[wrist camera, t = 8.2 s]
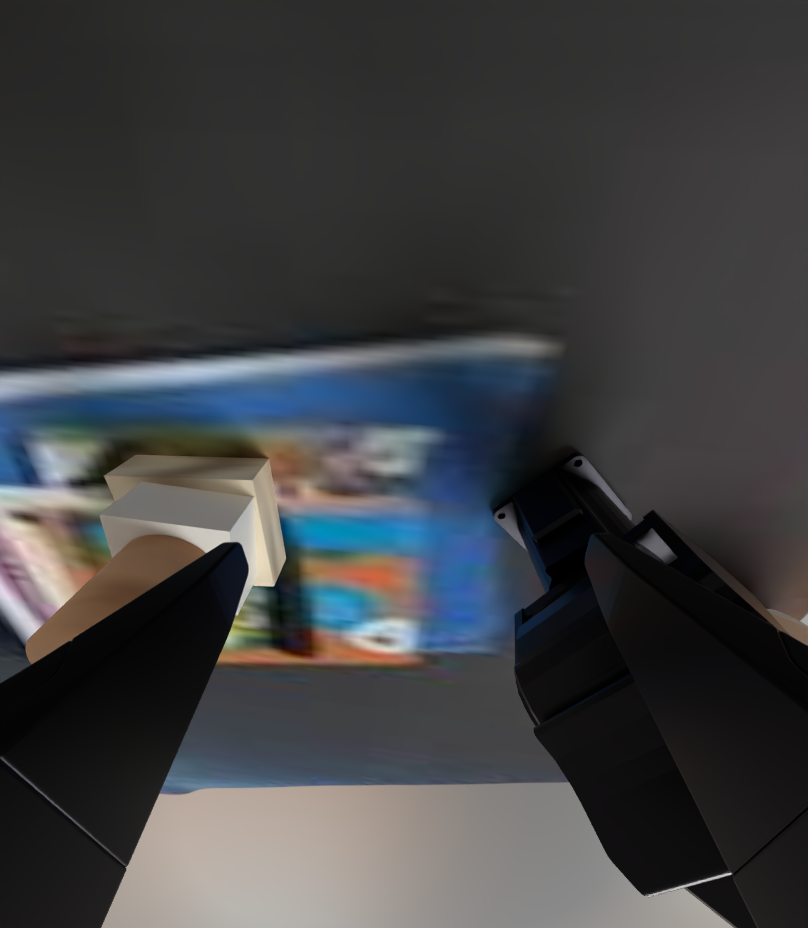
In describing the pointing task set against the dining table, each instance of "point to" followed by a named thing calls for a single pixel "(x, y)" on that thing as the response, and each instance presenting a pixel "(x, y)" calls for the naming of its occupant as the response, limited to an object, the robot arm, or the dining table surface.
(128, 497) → the white block
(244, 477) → the birch slab
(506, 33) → the dining table surface
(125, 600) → the tan cylinder
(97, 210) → the dining table surface
